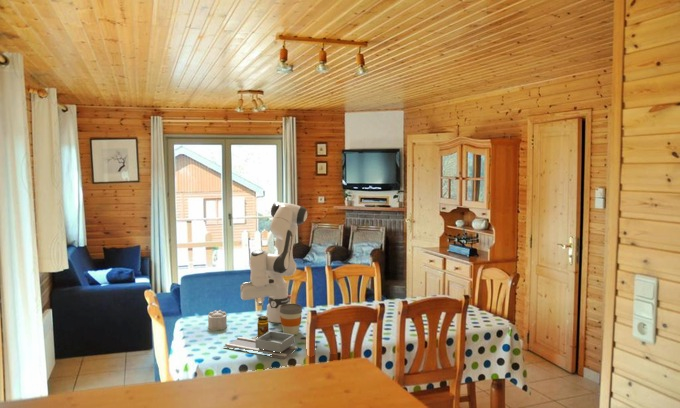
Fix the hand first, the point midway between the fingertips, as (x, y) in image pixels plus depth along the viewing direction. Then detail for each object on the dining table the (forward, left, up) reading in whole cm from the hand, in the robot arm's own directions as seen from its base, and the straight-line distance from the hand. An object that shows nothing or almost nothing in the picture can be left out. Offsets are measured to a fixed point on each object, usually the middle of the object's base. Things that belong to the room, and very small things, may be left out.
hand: (259, 305), depth 305 cm
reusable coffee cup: (-19, +9, -20) cm, 29 cm away
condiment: (-4, -1, -20) cm, 20 cm away
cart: (+10, +15, -18) cm, 26 cm away
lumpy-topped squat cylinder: (-10, -35, -20) cm, 42 cm away
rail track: (+10, +7, -20) cm, 23 cm away
